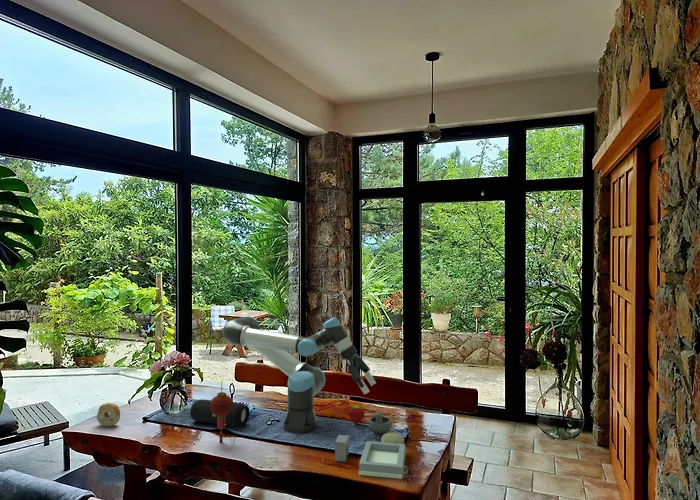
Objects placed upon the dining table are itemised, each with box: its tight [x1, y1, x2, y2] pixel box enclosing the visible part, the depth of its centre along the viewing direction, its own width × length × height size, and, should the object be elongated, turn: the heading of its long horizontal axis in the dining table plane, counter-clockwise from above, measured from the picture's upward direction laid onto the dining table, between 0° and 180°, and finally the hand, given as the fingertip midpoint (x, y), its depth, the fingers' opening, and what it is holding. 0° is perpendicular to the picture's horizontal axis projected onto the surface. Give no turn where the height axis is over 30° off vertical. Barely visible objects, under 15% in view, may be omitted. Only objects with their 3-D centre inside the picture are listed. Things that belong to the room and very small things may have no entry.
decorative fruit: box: [348, 402, 366, 426], centre depth 212 cm, size 6×8×10 cm
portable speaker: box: [189, 398, 250, 427], centre depth 212 cm, size 26×10×10 cm, turn 75°
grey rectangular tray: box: [358, 440, 406, 480], centre depth 172 cm, size 15×20×4 cm
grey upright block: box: [334, 434, 350, 462], centre depth 178 cm, size 4×7×7 cm, turn 170°
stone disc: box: [96, 402, 121, 427], centre depth 208 cm, size 10×4×10 cm, turn 79°
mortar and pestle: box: [368, 410, 393, 440], centre depth 198 cm, size 11×9×12 cm
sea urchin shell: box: [380, 431, 405, 444], centre depth 189 cm, size 9×8×8 cm
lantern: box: [210, 382, 234, 444], centre depth 190 cm, size 10×10×30 cm
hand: (370, 388), depth 214 cm, fingers open, 13 cm apart
